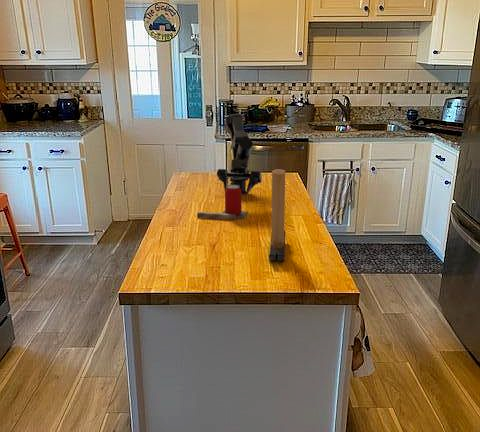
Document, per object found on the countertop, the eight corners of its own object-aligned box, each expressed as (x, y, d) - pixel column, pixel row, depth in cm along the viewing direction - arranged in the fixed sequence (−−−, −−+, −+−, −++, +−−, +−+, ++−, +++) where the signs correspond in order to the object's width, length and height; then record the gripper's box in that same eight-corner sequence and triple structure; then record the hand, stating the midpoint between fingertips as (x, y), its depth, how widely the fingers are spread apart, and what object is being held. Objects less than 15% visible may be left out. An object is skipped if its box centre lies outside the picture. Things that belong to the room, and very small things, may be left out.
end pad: (219, 217, 195) (219, 216, 195) (224, 210, 203) (224, 209, 203) (243, 219, 192) (243, 218, 192) (247, 212, 201) (247, 211, 201)
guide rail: (197, 217, 195) (197, 212, 194) (198, 216, 196) (198, 211, 195) (235, 220, 191) (235, 215, 191) (236, 219, 193) (236, 214, 192)
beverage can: (242, 211, 200) (242, 184, 196) (240, 217, 194) (240, 188, 190) (226, 211, 201) (225, 183, 197) (224, 216, 194) (223, 188, 190)
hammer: (284, 270, 152) (286, 186, 138) (268, 270, 153) (268, 186, 138) (285, 237, 170) (287, 159, 155) (271, 236, 170) (272, 158, 155)
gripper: (217, 150, 201) (210, 182, 195) (260, 152, 197) (255, 185, 190) (222, 164, 211) (216, 195, 205) (264, 166, 207) (258, 198, 200)
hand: (236, 193), depth 200 cm, fingers open, 9 cm apart
